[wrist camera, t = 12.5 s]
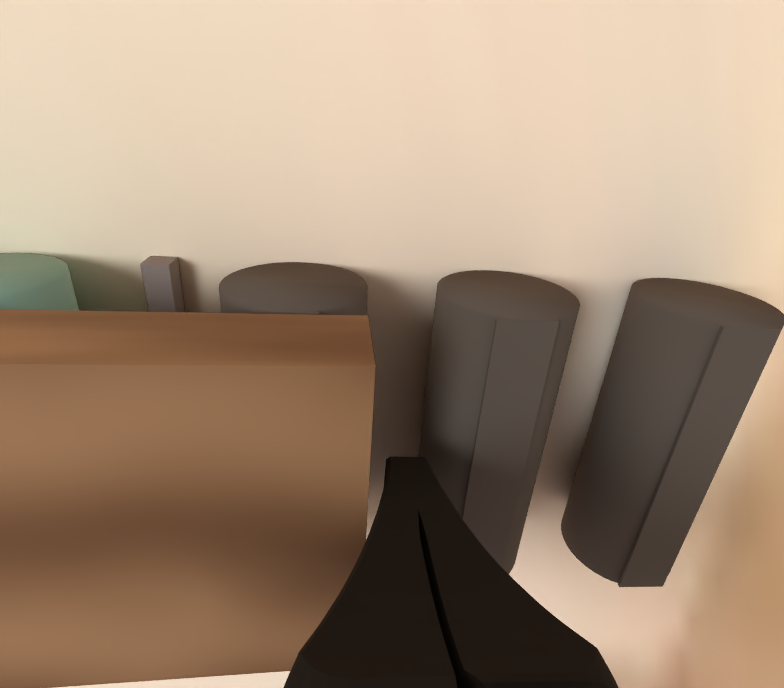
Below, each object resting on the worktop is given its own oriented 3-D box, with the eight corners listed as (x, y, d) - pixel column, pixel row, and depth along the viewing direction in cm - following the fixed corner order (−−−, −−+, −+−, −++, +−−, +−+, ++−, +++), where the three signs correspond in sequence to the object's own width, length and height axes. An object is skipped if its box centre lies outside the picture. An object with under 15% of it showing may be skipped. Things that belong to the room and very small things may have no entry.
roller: (-6, 246, 15) (-177, 288, 11) (102, 265, 14) (-49, 316, 10) (72, 494, 19) (-33, 578, 16) (157, 521, 18) (65, 616, 15)
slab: (355, 588, 16) (358, 665, 14) (-111, 612, 15) (-190, 704, 12) (368, 315, 12) (375, 366, 10) (-302, 304, 10) (-478, 361, 8)
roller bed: (637, 502, 21) (695, 586, 17) (41, 500, 19) (-33, 594, 15) (722, 280, 16) (823, 331, 13) (-45, 247, 14) (-178, 296, 11)
